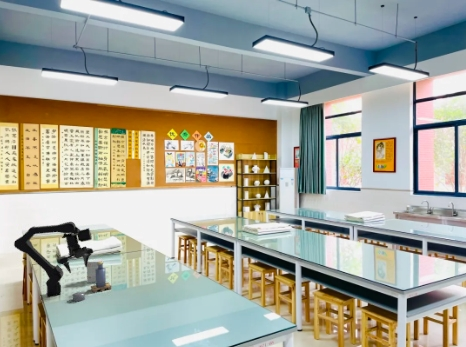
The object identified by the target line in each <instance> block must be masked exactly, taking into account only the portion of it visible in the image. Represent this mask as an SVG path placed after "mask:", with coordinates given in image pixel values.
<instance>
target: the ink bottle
mask: <svg viewBox="0 0 466 347" xmlns="http://www.w3.org/2000/svg"><path fill="white" fill-rule="evenodd" d="M97 264H98V268H97V269H96V282H95V285H96V287H98V288H100V287H104V286H106V283H107V281H106V279H107V278H106V277H107V276H106V268H105V267H104V261H103V260H102V261H100V262H97Z"/></svg>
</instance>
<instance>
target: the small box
mask: <svg viewBox="0 0 466 347" xmlns="http://www.w3.org/2000/svg"><path fill="white" fill-rule="evenodd" d="M100 261H103V258H95V259H91V258H90V259H88V263H87V267H86V280H87V281H86V282H87V283H96V269H97V268H98V264H97V262H100Z"/></svg>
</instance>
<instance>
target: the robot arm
mask: <svg viewBox="0 0 466 347" xmlns="http://www.w3.org/2000/svg"><path fill="white" fill-rule="evenodd" d="M51 233H53V234H54V233H61V234H63V235H62V236H61V239H66V245H67V246H66V247H67V250H68V256H66V255H62V256H60V257H56V258H57V259H56V263H57V264H56V265H53V264H52V263H51V262H50V261H49V260H48V259H46V258H45V257H44V256H43V255H42V254H41V253H40V252H39V251H38V249H36V248H35V247H34V245H33V243H32V241H31V239H32V238H33V237H34V236H35V235H38V234H39V235H40V234H51ZM92 236H93V235H92V233H91V230H90V228H89V227H88V228H84V229H80V228H79V227H77V225H76V224H75V222H73V221H68V222H67V221H66V222H62V223H59V224H54V225H42V226H40V225H39V226H32V227H30V228H29V229H28V230H27V231H26V232H25V233H24V234H23V235H22V236H20V237H19V238H17V239H16V240H15V241H14V242H13V246H14V248H15V249H17V250H19V251H20V252H22V253H25V254H27V255H28V256H29V258H31V260H33V261H34V262H35V263H36V264H37V265H38V266H39V267H40V268H42V270H44V271H45V273H46V275H47V277H48V279H47V280H46V282H45V285H46V294H45V295H46V296H47V297H48V298H51V297H55V296H60V295H61V293H62V285H61V283H60V281H61V280H62V279H63V277H64V270H63V268H62V267H61V266H59V265H63V266H64V267H65V269H66V270H67V272H69V274H71V273H72V270H71V267H70V262H69V260H72V259H74V258H76V259H80V258H82V259H83V264H84V268H87V263H88V261H89V258H90V256H92V254H94V250H93V248H92V247H87V246H83V247H81V245H80V244H79V242H81V243H82V242H87V241H91V240H92V239H93V237H92ZM58 264H59V265H58Z"/></svg>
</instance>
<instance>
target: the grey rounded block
mask: <svg viewBox="0 0 466 347" xmlns="http://www.w3.org/2000/svg"><path fill="white" fill-rule="evenodd" d="M85 297H86V294H85V292H83V291H77V292H74V293H73V294H72V302H76V303H77V302H82V301H85V300H86V298H85Z"/></svg>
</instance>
